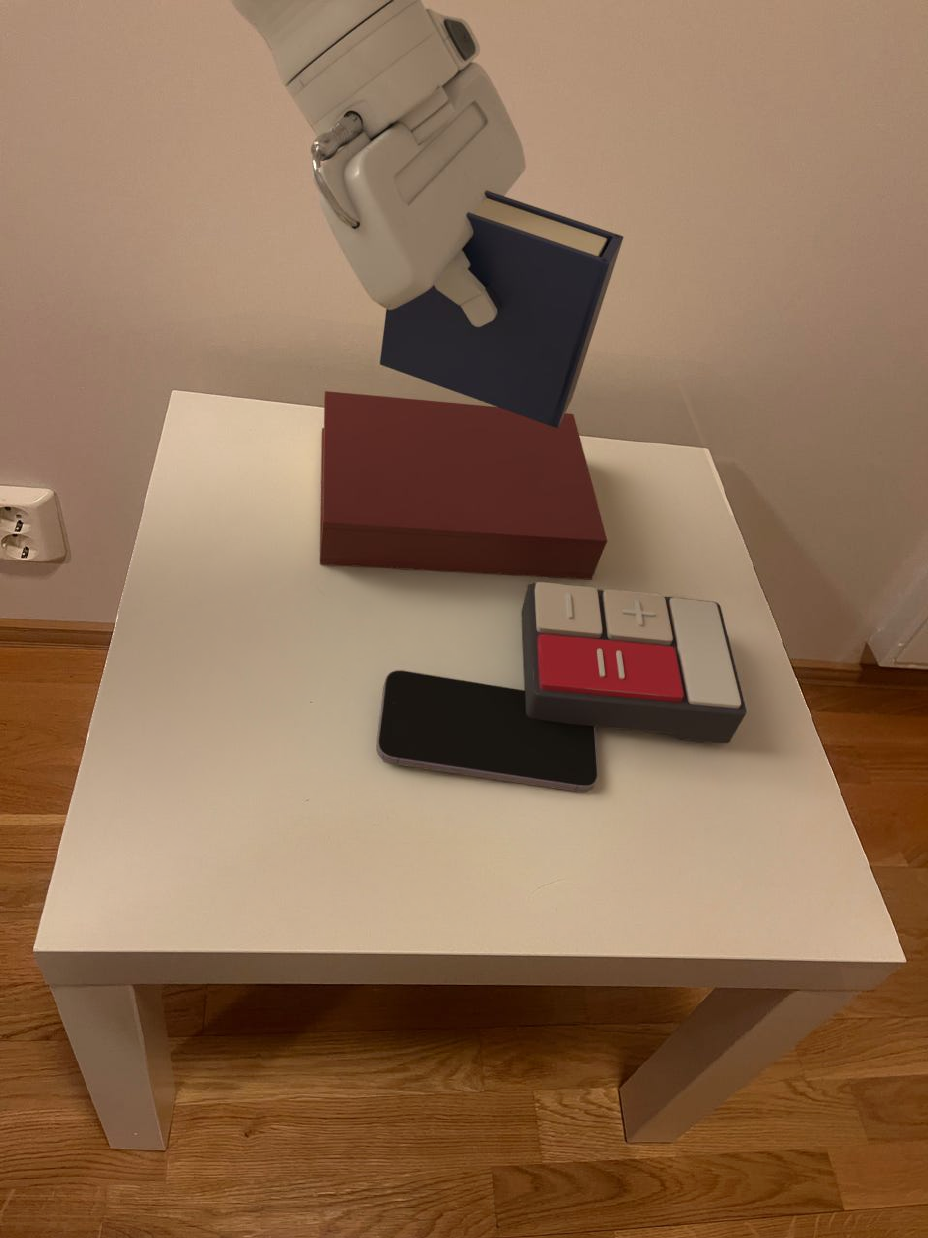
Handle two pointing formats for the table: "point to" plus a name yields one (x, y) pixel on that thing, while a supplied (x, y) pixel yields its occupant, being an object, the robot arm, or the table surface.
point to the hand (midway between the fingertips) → (502, 299)
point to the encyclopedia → (454, 490)
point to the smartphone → (480, 733)
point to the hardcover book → (512, 312)
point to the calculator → (629, 662)
